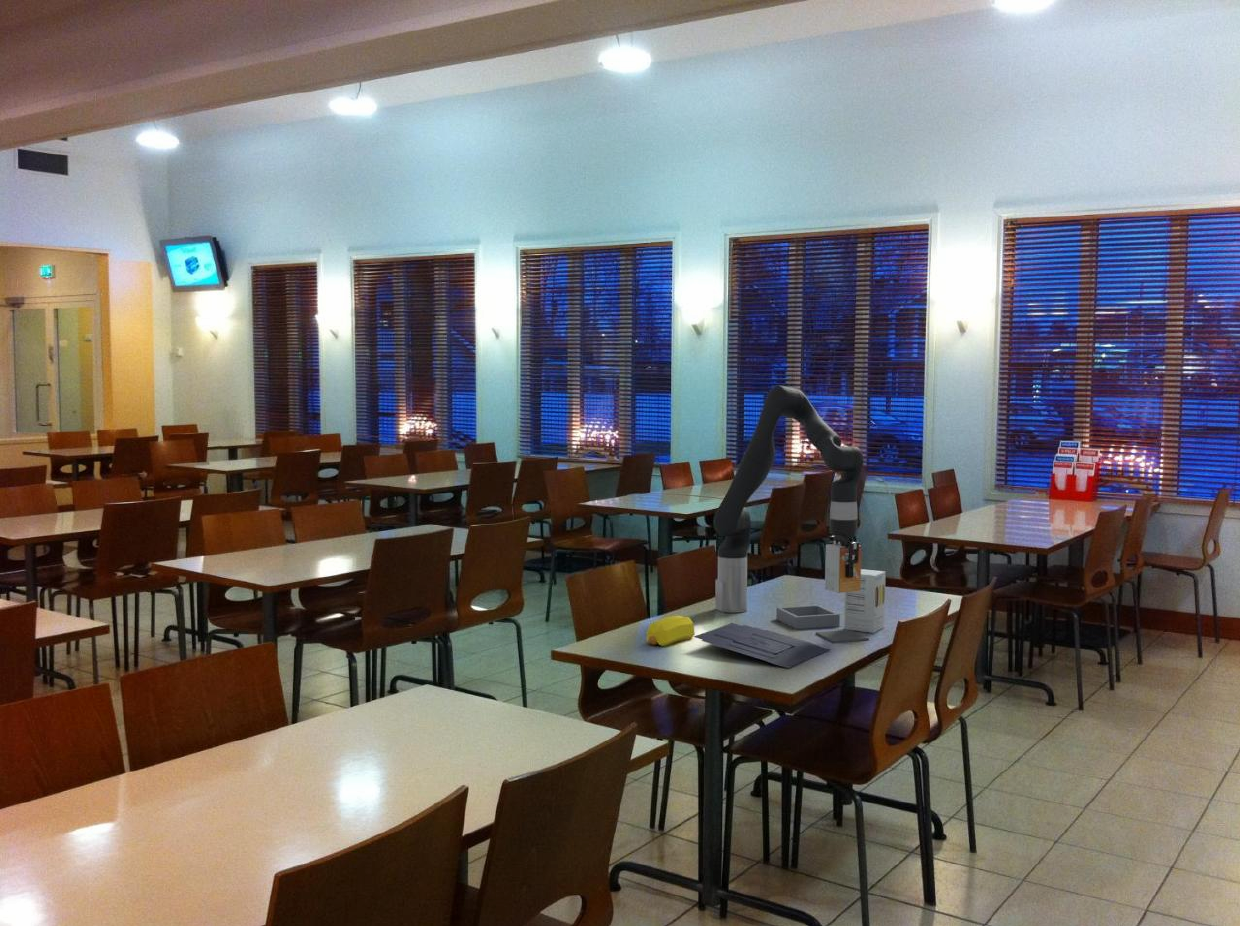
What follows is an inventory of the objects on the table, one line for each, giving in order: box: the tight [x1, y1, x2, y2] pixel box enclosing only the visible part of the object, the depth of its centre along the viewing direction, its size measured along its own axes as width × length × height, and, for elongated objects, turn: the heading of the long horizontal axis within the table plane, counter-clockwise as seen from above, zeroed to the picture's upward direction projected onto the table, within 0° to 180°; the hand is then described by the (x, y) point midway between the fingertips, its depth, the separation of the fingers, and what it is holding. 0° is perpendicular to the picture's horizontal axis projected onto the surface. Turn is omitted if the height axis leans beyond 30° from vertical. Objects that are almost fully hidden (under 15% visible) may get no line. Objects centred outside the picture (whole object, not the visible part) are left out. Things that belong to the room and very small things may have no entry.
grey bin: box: [775, 604, 841, 630], centre depth 329 cm, size 14×14×4 cm
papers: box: [692, 622, 831, 669], centre depth 295 cm, size 24×30×4 cm
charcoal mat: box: [815, 629, 870, 644], centre depth 310 cm, size 11×11×1 cm
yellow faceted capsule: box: [646, 614, 696, 647], centre depth 306 cm, size 18×7×8 cm
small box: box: [824, 544, 863, 594], centre depth 309 cm, size 8×6×13 cm
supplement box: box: [843, 568, 886, 634], centre depth 321 cm, size 10×9×17 cm
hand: (842, 575), depth 309 cm, fingers closed on small box, 7 cm apart
